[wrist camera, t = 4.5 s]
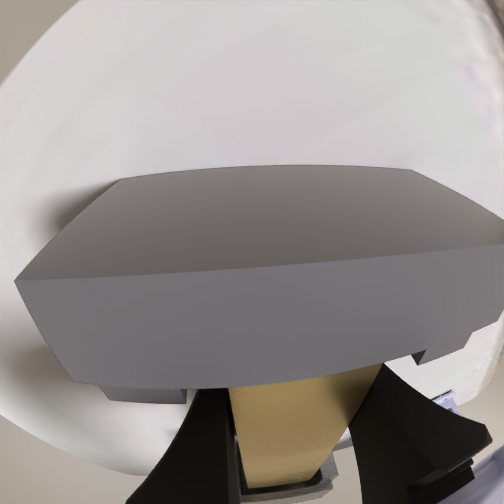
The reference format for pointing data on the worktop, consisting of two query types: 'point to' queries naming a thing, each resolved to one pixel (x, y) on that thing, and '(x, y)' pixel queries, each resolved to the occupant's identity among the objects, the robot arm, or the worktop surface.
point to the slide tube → (295, 423)
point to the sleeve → (286, 485)
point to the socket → (262, 277)
